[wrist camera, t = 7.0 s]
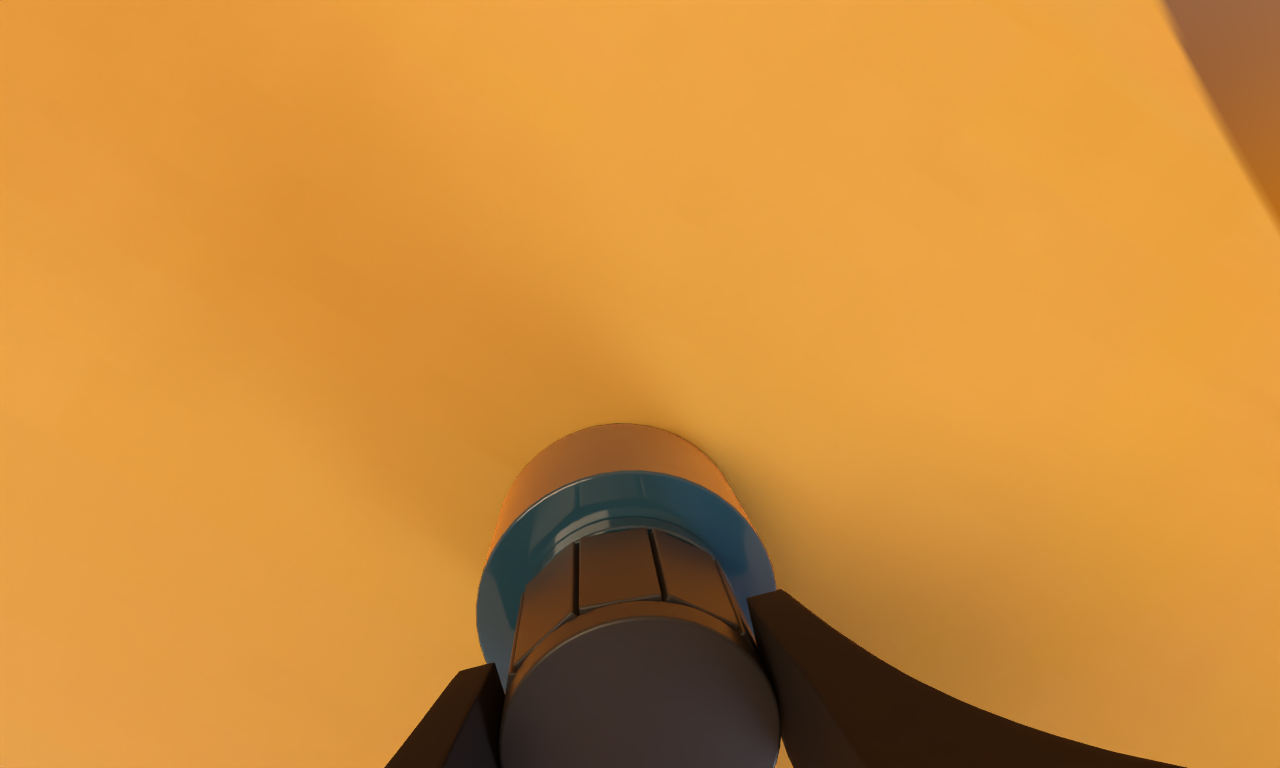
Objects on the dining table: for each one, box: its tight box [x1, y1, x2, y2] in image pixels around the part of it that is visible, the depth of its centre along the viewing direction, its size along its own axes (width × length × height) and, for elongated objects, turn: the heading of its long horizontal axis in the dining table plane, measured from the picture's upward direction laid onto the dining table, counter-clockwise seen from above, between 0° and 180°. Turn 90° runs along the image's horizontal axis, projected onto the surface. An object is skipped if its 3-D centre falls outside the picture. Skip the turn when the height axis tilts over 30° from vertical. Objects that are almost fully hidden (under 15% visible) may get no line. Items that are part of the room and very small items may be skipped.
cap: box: [498, 527, 781, 768], centre depth 12 cm, size 4×4×3 cm
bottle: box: [476, 424, 776, 692], centre depth 14 cm, size 6×6×6 cm
